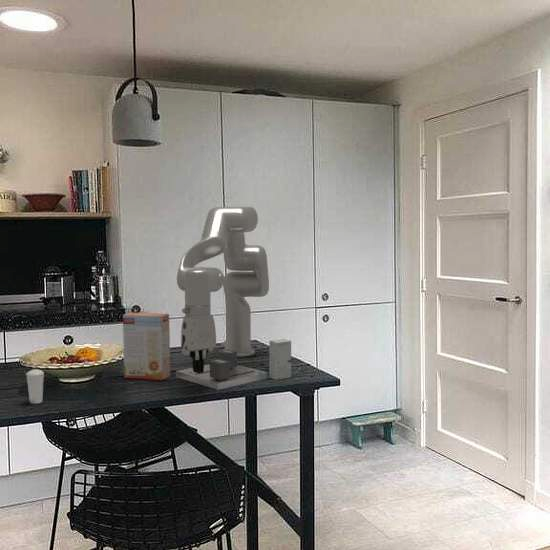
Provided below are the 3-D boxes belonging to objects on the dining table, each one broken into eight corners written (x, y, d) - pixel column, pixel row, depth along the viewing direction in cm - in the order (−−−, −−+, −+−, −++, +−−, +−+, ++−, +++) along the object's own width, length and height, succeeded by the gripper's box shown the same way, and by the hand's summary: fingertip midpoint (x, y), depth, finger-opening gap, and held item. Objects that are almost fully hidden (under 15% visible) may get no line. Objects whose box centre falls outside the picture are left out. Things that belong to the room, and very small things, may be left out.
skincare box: (276, 380, 195) (276, 342, 194) (268, 377, 199) (268, 340, 198) (292, 377, 199) (292, 340, 198) (284, 374, 202) (284, 338, 201)
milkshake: (22, 401, 172) (21, 366, 171) (42, 399, 175) (41, 364, 174) (25, 405, 168) (24, 369, 167) (46, 402, 171) (45, 367, 170)
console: (176, 377, 200) (175, 370, 200) (224, 367, 213) (224, 361, 213) (217, 389, 184) (217, 382, 184) (267, 378, 197) (267, 372, 197)
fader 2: (209, 377, 190) (209, 360, 189) (220, 374, 192) (219, 358, 192) (219, 379, 186) (219, 363, 186) (230, 377, 189) (230, 361, 188)
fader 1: (218, 366, 205) (217, 351, 204) (227, 364, 207) (227, 349, 207) (227, 368, 201) (227, 353, 200) (236, 366, 204) (236, 351, 203)
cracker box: (171, 376, 200) (170, 313, 199) (162, 381, 194) (161, 315, 193) (133, 373, 204) (131, 311, 203) (123, 378, 199) (122, 313, 197)
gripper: (184, 314, 174) (184, 378, 175) (225, 310, 184) (225, 370, 186) (169, 312, 180) (170, 374, 181) (210, 307, 190) (210, 366, 191)
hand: (198, 372), depth 183 cm, fingers closed
